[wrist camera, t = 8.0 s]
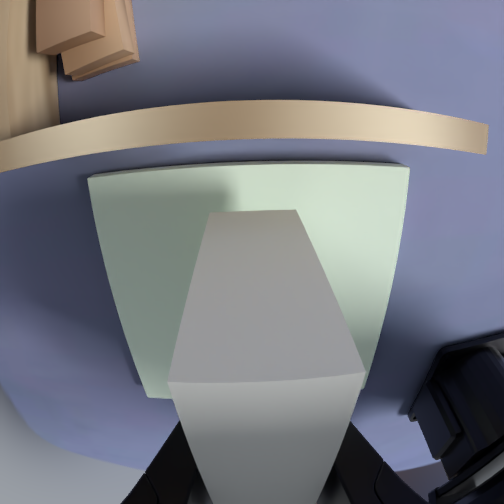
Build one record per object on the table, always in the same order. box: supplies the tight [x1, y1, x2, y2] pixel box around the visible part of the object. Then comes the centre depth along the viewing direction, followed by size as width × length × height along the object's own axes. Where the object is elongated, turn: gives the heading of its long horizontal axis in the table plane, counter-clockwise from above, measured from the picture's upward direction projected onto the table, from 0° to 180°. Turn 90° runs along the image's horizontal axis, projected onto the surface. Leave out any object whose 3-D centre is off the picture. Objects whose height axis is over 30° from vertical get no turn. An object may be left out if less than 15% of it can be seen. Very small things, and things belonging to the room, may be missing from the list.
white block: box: [167, 210, 366, 504], centre depth 8 cm, size 2×9×6 cm, turn 2°
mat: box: [87, 161, 410, 399], centre depth 13 cm, size 11×11×1 cm
